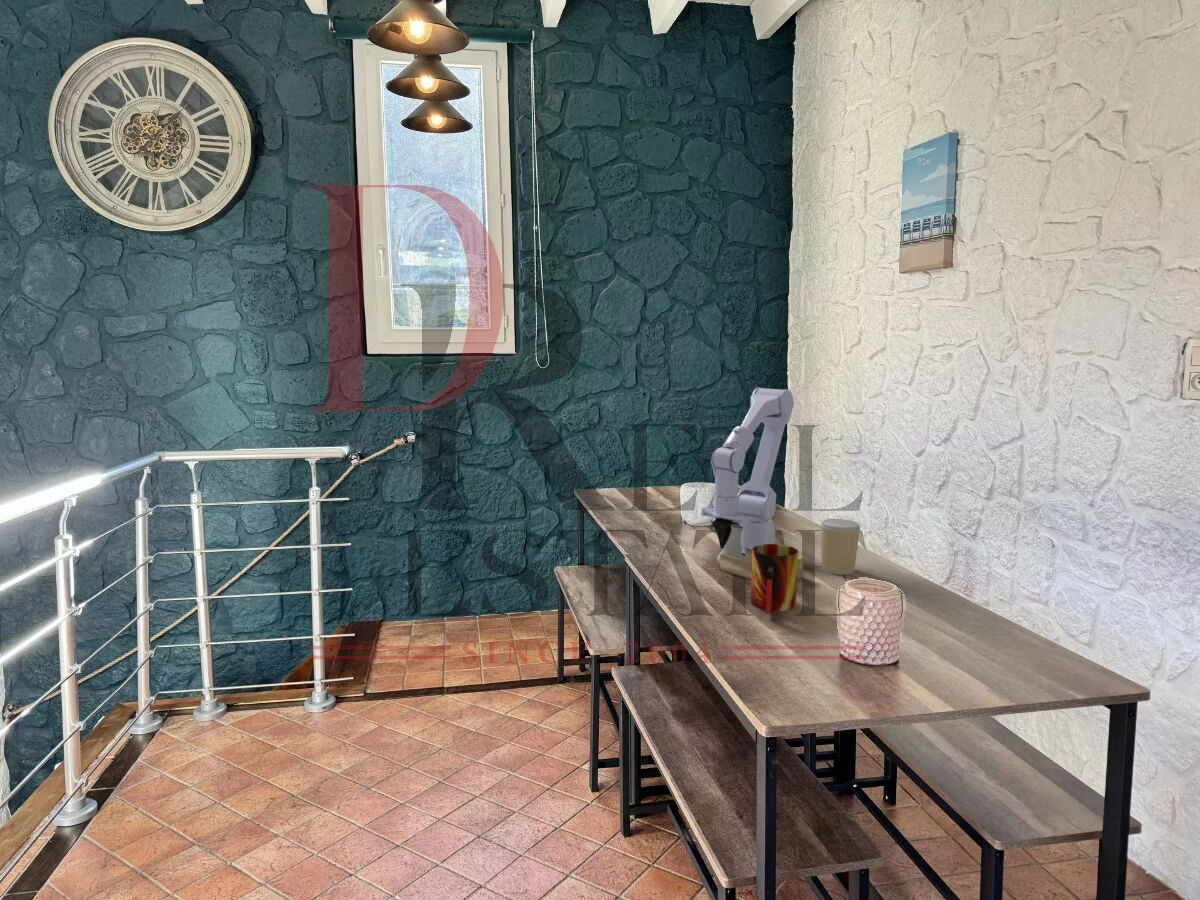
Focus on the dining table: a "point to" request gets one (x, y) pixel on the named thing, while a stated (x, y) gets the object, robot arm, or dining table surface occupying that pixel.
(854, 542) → the coffee cup
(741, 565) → the lane
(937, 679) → the dining table surface
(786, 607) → the mug
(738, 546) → the flask
